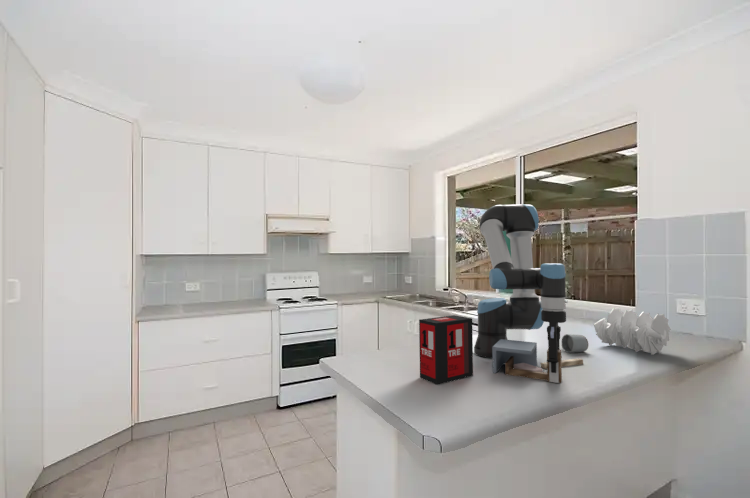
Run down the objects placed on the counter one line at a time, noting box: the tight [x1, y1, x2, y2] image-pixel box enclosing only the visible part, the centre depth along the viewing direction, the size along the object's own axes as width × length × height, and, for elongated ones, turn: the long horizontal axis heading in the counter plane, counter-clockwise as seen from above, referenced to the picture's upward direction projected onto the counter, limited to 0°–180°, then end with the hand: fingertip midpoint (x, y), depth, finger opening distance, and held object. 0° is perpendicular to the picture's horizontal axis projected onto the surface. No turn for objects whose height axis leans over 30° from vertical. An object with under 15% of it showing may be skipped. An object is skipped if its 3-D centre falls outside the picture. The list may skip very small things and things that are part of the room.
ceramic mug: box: [561, 333, 589, 354], centre depth 164 cm, size 11×8×8 cm
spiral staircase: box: [593, 307, 671, 356], centre depth 165 cm, size 18×18×25 cm
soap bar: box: [514, 363, 544, 372], centre depth 136 cm, size 5×9×2 cm, turn 25°
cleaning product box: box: [418, 314, 474, 386], centre depth 132 cm, size 16×9×20 cm, turn 122°
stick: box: [540, 357, 584, 370], centre depth 143 cm, size 18×2×2 cm, turn 108°
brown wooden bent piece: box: [504, 349, 563, 384], centre depth 133 cm, size 18×11×10 cm, turn 60°
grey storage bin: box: [492, 339, 538, 374], centre depth 138 cm, size 13×14×9 cm
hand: (554, 379), depth 126 cm, fingers open, 4 cm apart
